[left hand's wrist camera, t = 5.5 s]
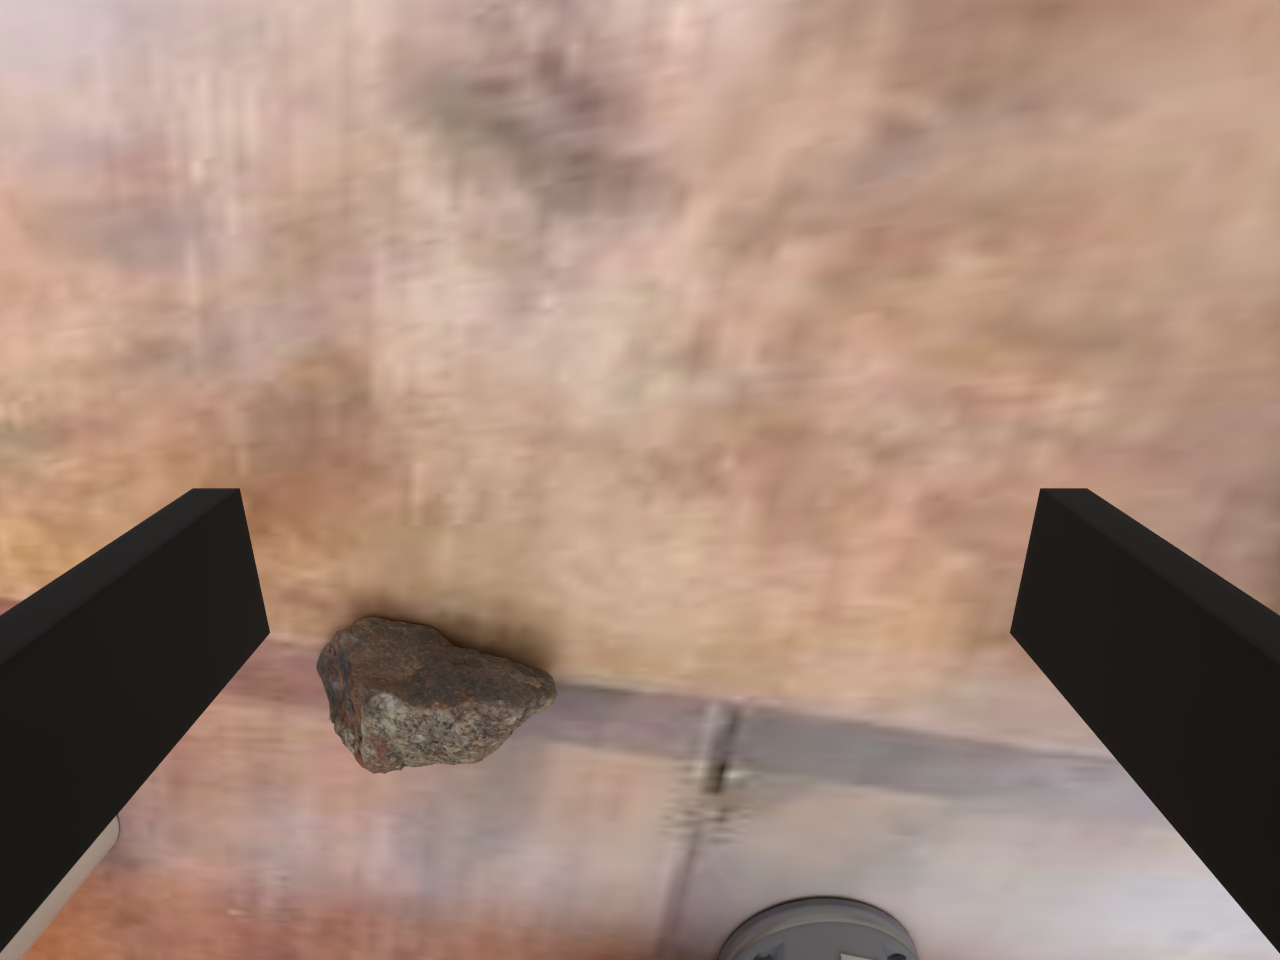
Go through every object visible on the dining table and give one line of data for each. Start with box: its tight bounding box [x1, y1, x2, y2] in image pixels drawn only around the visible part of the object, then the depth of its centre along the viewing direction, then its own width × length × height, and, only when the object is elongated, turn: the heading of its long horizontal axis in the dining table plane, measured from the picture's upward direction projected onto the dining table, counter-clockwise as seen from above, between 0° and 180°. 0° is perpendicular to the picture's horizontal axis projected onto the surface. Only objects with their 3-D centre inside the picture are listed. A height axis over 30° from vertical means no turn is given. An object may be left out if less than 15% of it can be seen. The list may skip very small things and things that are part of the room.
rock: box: [317, 617, 558, 774], centre depth 43 cm, size 14×9×10 cm
